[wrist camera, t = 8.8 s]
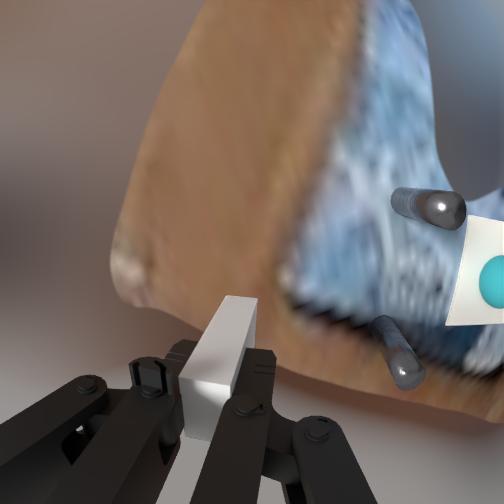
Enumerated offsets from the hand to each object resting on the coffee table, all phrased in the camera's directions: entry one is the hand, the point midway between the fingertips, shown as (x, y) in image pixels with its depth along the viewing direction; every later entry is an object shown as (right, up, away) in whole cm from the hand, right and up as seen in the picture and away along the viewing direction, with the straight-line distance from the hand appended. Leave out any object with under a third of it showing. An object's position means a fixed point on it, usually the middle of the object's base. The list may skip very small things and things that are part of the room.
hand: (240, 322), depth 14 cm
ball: (+26, 0, +8) cm, 27 cm away
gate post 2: (+14, +8, +10) cm, 19 cm away
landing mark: (+28, +1, +10) cm, 30 cm away
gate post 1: (+14, -4, +13) cm, 19 cm away
